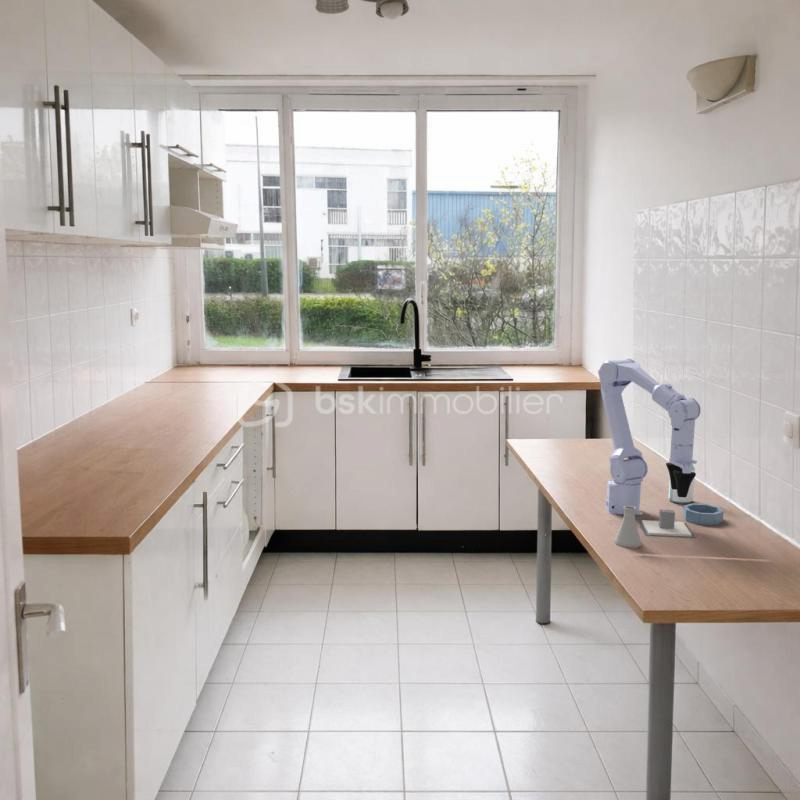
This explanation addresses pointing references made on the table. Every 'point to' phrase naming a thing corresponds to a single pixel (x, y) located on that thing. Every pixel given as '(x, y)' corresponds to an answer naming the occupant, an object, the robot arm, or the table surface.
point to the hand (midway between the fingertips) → (678, 493)
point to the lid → (666, 525)
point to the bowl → (703, 514)
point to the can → (682, 500)
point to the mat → (664, 535)
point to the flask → (628, 530)
